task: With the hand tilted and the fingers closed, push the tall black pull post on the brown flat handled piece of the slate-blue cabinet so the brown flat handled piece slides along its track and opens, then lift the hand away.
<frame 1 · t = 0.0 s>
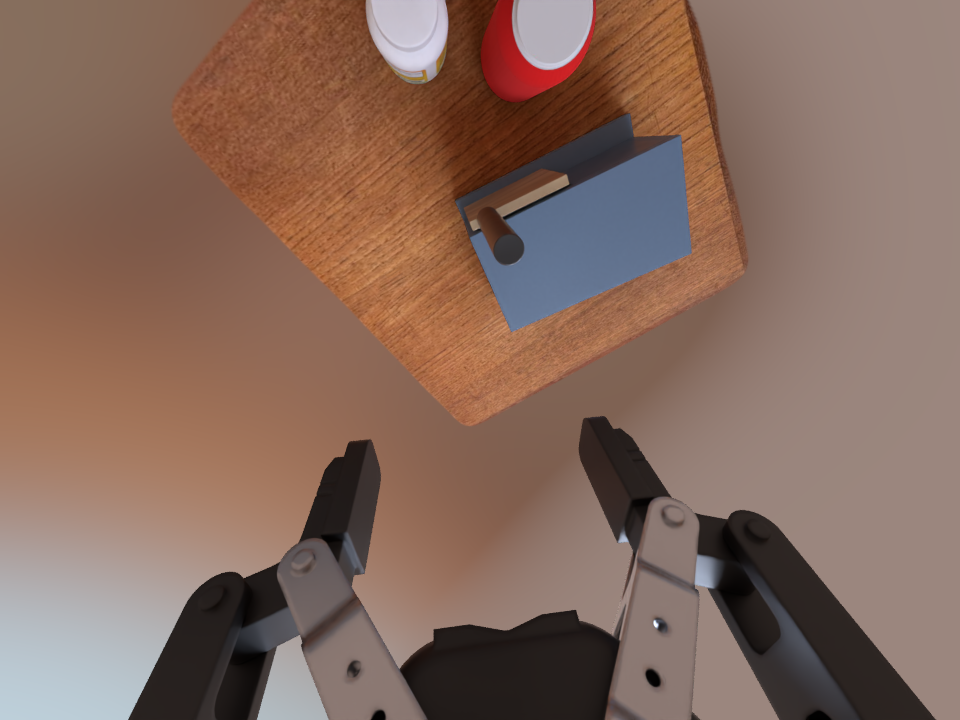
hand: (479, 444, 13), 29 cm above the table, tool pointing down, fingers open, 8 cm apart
supplement bottle: (414, 44, 29), on the table
beverage can: (514, 59, 30), on the table
cabinet: (557, 226, 37), on the table
brown flat handled piece: (521, 205, 26), point 10 cm above the table, slide at 0.0 cm
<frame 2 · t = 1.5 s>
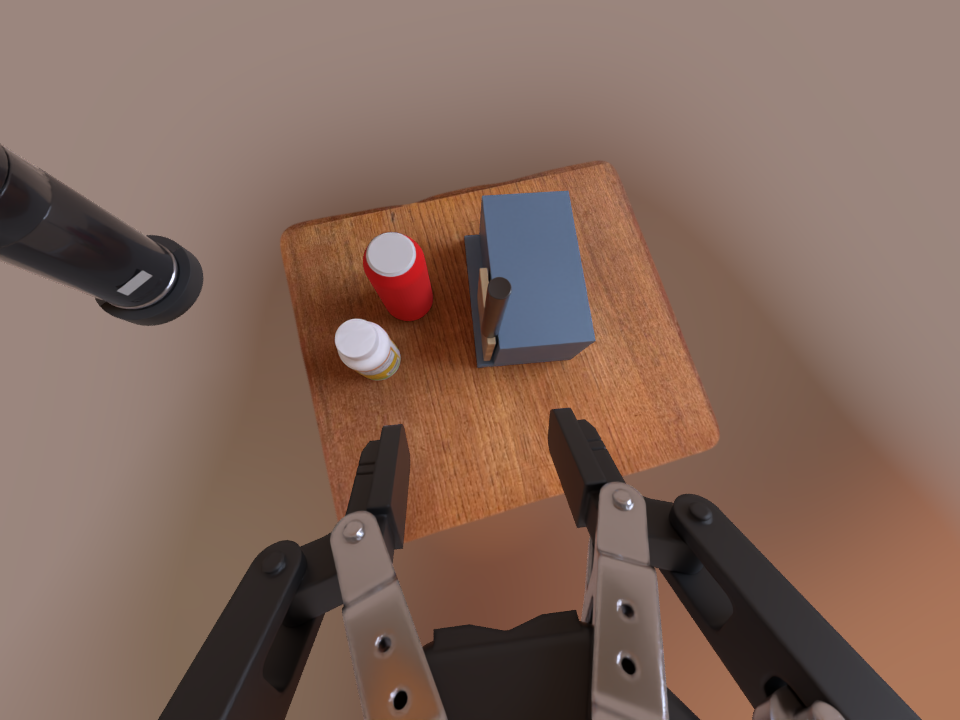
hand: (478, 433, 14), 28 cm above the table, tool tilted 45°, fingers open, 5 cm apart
supplement bottle: (379, 360, 43), on the table
beverage can: (410, 302, 45), on the table
cabinet: (523, 297, 45), on the table
brown flat handled piece: (488, 300, 34), point 10 cm above the table, slide at 0.0 cm
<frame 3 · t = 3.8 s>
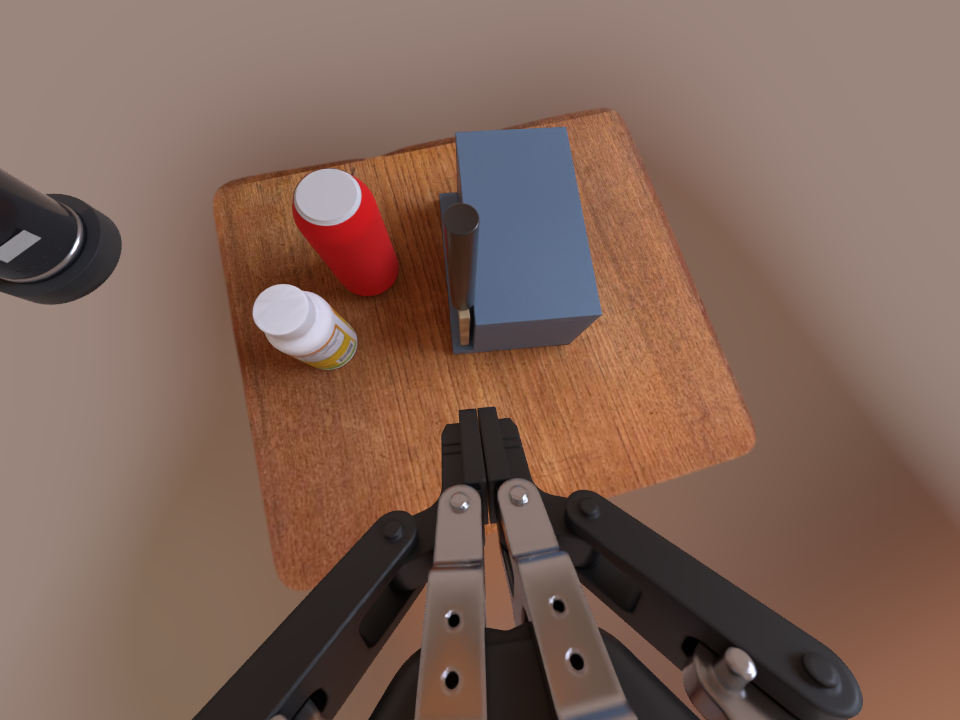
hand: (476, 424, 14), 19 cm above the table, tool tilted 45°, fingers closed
supplement bottle: (331, 345, 34), on the table
beverage can: (371, 274, 36), on the table
cabinet: (511, 268, 37), on the table
brown flat handled piece: (459, 260, 26), point 10 cm above the table, slide at 0.0 cm
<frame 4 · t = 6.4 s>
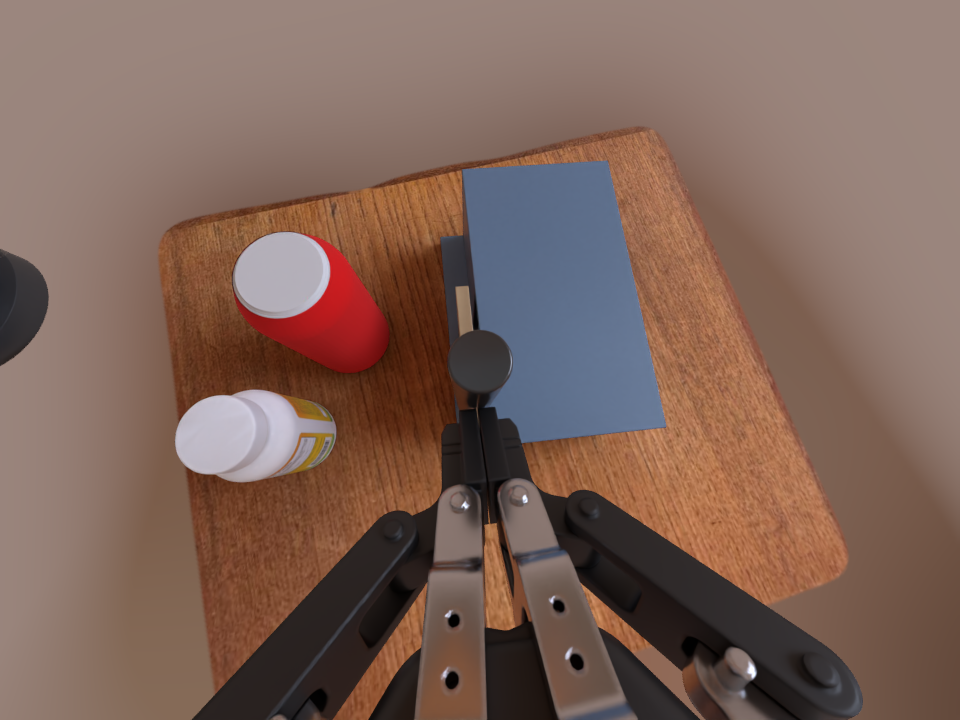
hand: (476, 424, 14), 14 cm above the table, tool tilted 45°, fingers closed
supplement bottle: (304, 435, 27), on the table
beverage can: (356, 340, 29), on the table
cabinet: (530, 330, 30), on the table
brown flat handled piece: (468, 348, 18), point 10 cm above the table, slide at 0.6 cm, touching gripper
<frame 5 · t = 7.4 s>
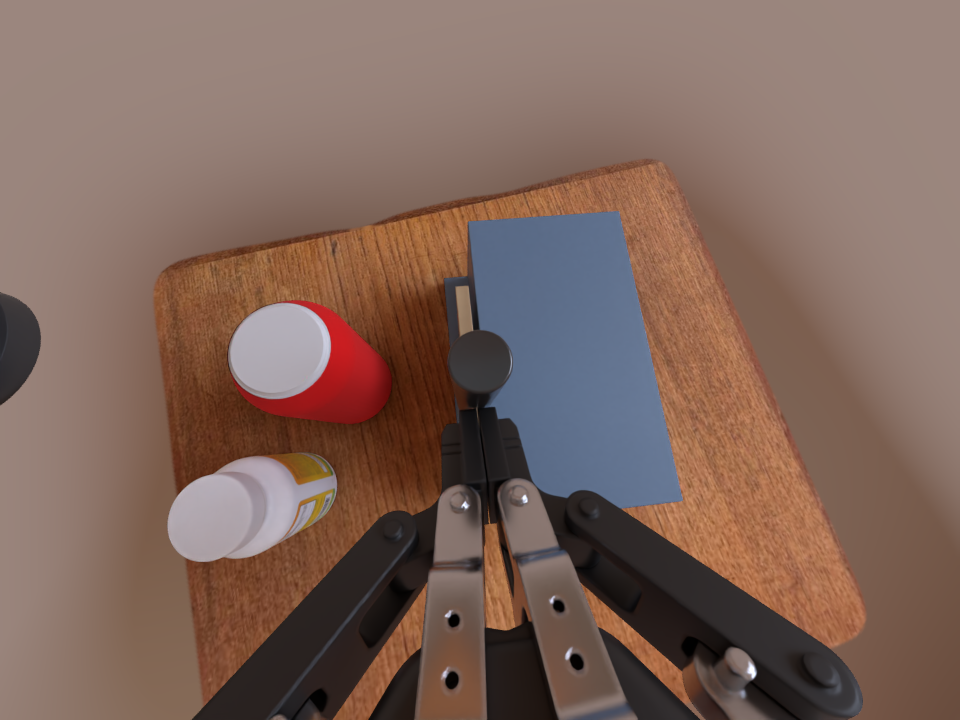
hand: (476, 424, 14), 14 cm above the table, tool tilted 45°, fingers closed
supplement bottle: (303, 488, 26), on the table
beverage can: (357, 386, 28), on the table
cabinet: (537, 375, 29), on the table
brown flat handled piece: (468, 348, 18), point 10 cm above the table, slide at 4.5 cm, touching gripper
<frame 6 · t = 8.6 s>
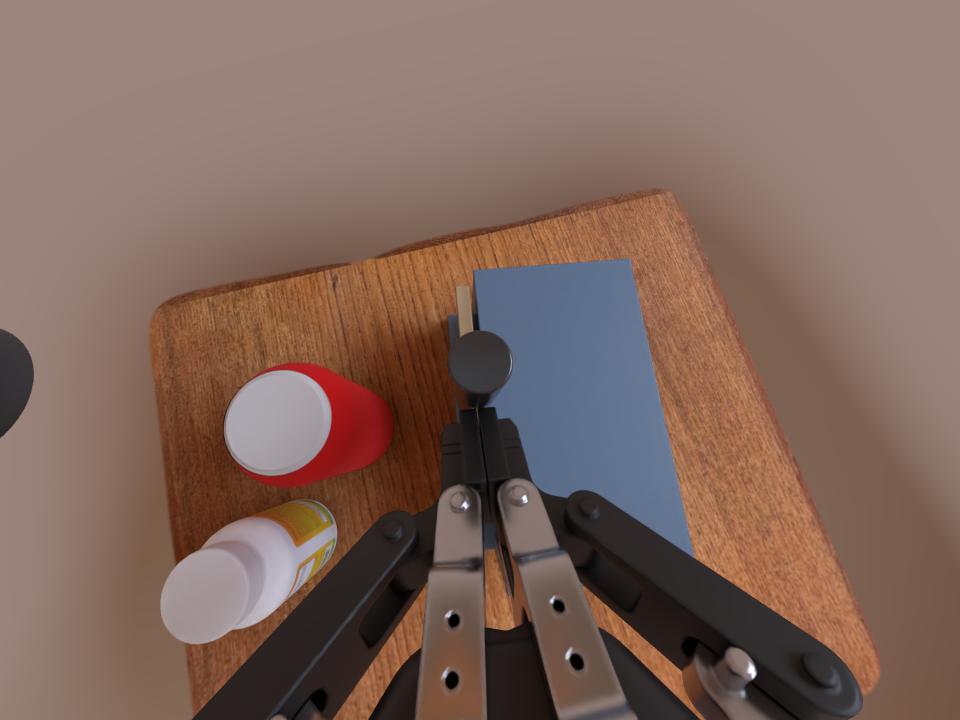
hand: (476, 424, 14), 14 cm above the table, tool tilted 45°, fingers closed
supplement bottle: (303, 535, 25), on the table
beverage can: (358, 428, 27), on the table
cabinet: (543, 416, 28), on the table
brown flat handled piece: (468, 348, 18), point 10 cm above the table, slide at 8.0 cm, touching gripper
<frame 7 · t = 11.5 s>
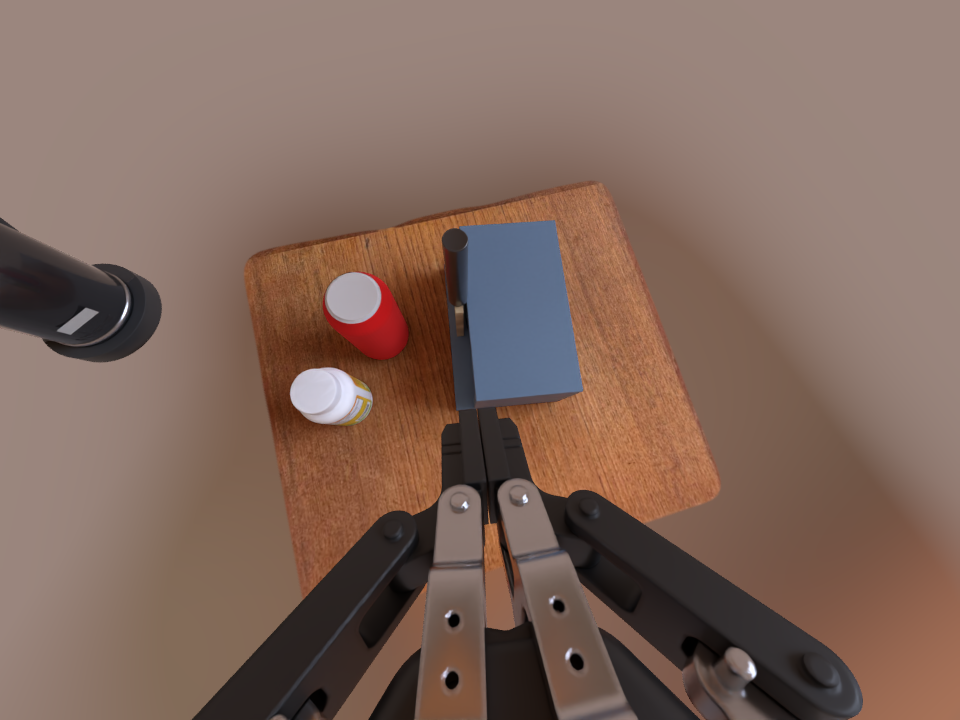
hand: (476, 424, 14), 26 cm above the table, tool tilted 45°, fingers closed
supplement bottle: (350, 402, 39), on the table
beverage can: (384, 337, 41), on the table
cabinet: (507, 331, 42), on the table
brown flat handled piece: (455, 266, 32), point 10 cm above the table, slide at 8.0 cm
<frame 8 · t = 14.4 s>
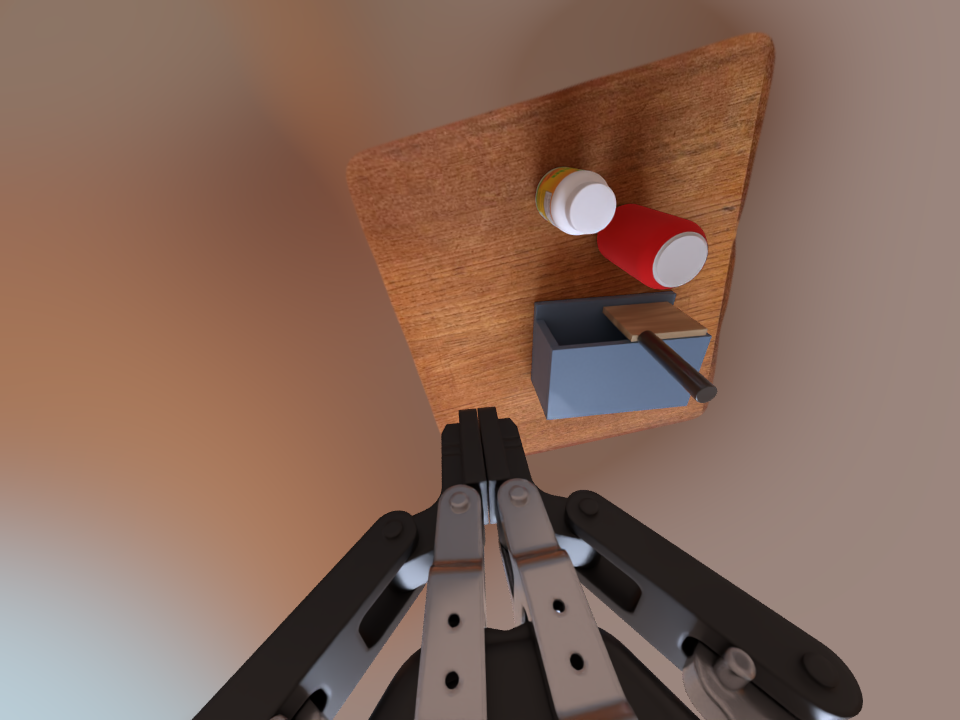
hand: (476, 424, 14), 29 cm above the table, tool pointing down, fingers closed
supplement bottle: (558, 194, 37), on the table
beverage can: (618, 231, 40), on the table
cabinet: (596, 344, 47), on the table
brown flat handled piece: (675, 340, 36), point 10 cm above the table, slide at 8.0 cm
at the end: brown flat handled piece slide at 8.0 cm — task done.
